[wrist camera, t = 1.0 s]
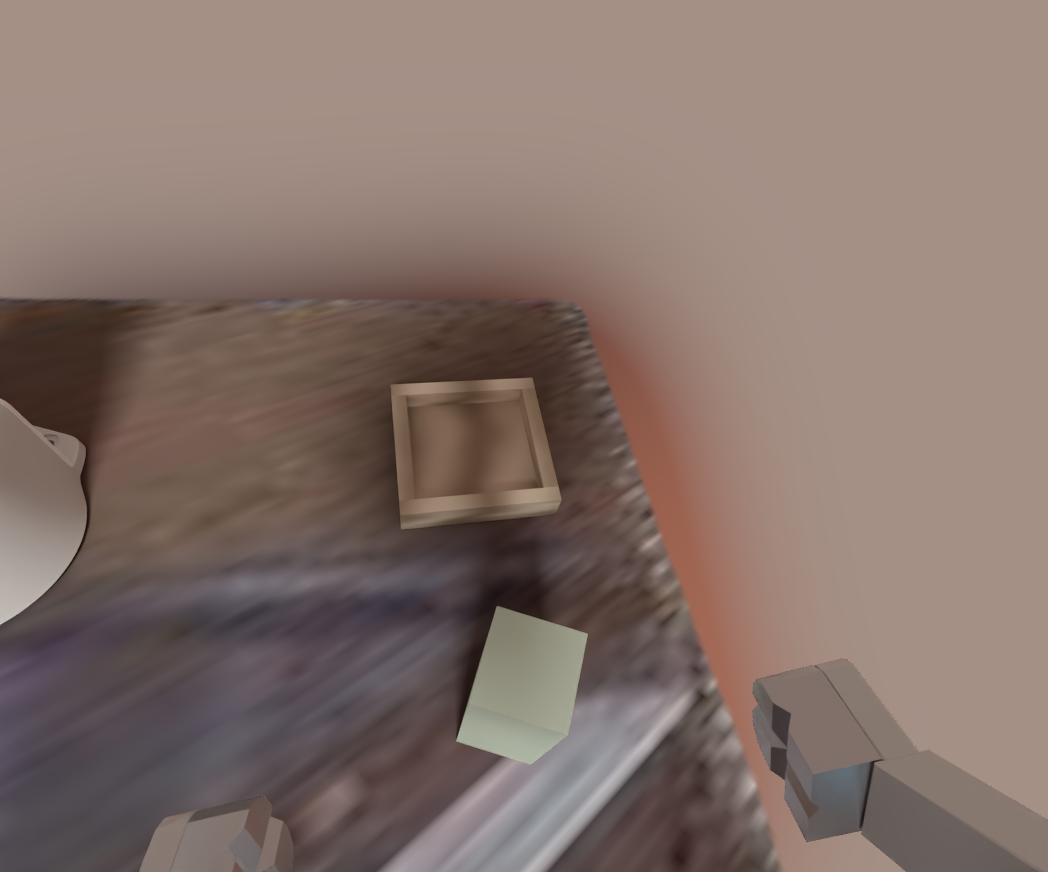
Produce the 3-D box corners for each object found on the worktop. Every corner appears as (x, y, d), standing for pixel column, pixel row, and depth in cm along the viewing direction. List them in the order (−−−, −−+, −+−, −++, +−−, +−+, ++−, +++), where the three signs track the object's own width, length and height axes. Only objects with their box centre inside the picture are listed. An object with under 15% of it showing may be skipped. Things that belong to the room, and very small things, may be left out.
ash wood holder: (401, 529, 46) (400, 515, 44) (391, 402, 53) (390, 384, 51) (555, 514, 49) (561, 499, 47) (528, 394, 56) (532, 377, 54)
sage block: (456, 741, 39) (468, 703, 29) (479, 663, 41) (496, 605, 32) (530, 764, 38) (567, 734, 29) (548, 685, 41) (587, 633, 32)
